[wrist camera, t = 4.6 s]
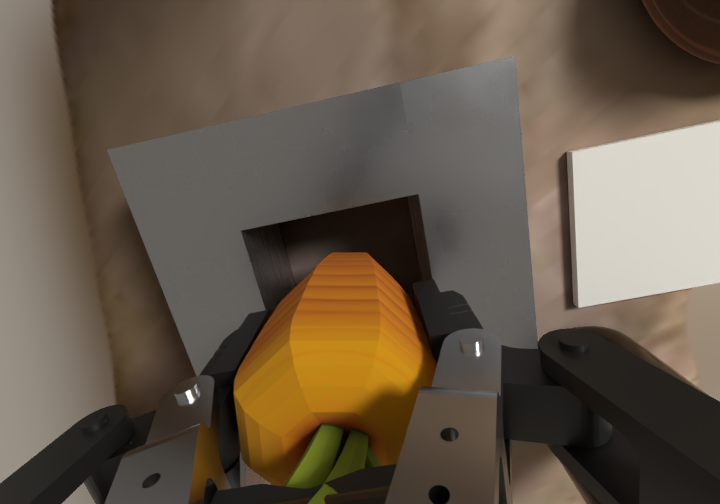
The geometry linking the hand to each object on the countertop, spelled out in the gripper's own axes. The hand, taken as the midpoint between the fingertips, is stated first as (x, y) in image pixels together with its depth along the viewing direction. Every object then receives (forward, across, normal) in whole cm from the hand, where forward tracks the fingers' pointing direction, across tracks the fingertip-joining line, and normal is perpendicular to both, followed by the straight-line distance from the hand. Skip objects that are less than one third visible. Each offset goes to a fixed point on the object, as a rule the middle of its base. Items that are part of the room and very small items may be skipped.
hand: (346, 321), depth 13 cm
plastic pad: (+7, -15, +1) cm, 16 cm away
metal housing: (+7, 0, 0) cm, 7 cm away
